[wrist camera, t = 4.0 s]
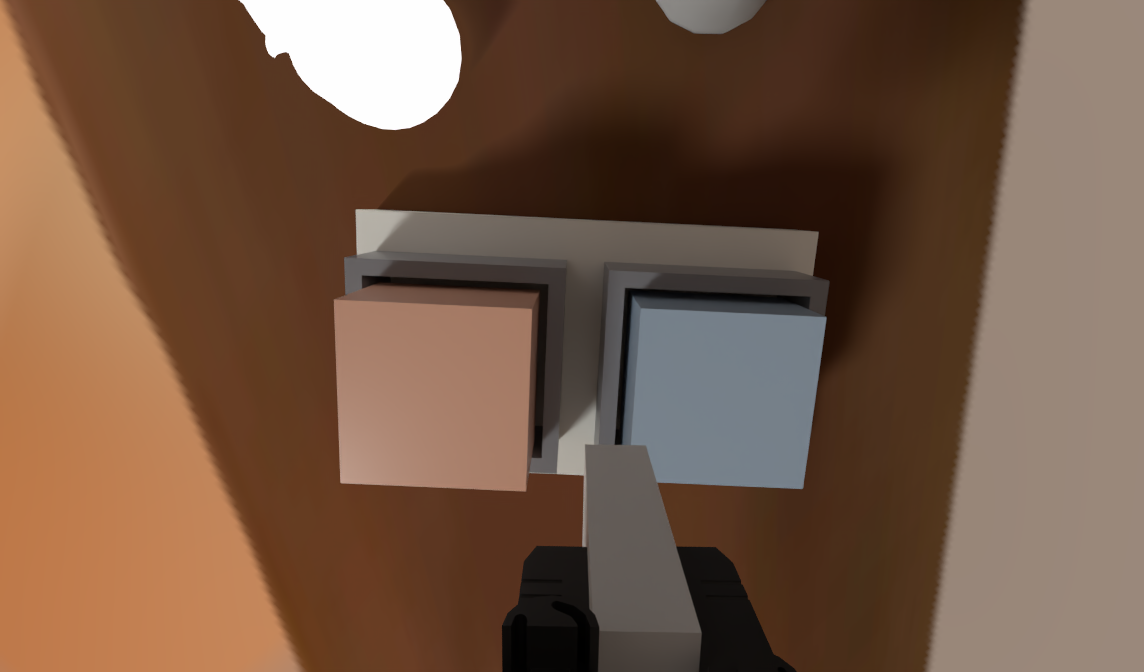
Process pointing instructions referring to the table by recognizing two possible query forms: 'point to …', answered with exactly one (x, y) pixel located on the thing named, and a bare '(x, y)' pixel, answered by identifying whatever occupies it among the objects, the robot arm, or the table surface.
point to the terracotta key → (437, 385)
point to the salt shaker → (710, 14)
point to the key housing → (581, 292)
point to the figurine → (368, 54)
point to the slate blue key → (721, 387)
